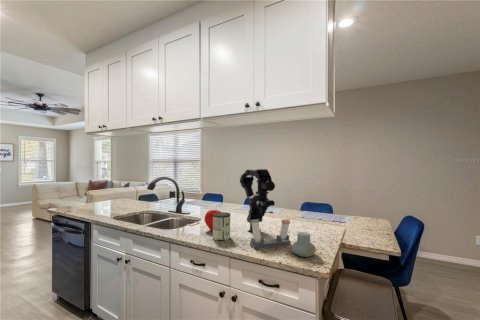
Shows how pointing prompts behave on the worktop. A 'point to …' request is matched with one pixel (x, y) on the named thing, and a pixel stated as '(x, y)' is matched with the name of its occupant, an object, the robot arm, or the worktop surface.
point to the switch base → (270, 242)
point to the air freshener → (303, 245)
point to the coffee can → (221, 226)
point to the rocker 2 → (284, 228)
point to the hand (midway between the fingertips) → (262, 216)
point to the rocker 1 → (256, 230)
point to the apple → (210, 218)
